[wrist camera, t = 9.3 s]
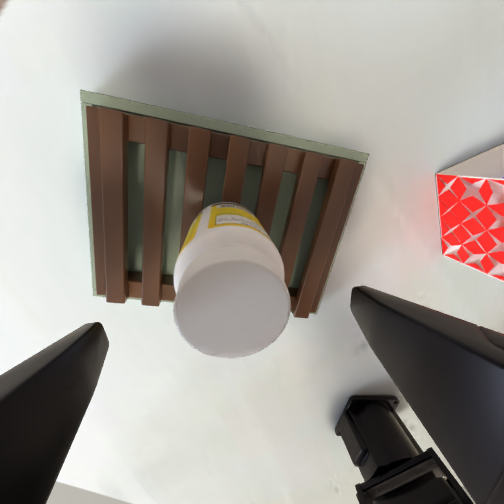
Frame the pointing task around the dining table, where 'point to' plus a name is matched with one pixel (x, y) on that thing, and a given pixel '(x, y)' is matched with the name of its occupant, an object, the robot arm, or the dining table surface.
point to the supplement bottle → (229, 284)
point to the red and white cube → (474, 212)
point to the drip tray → (207, 183)
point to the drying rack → (155, 199)
